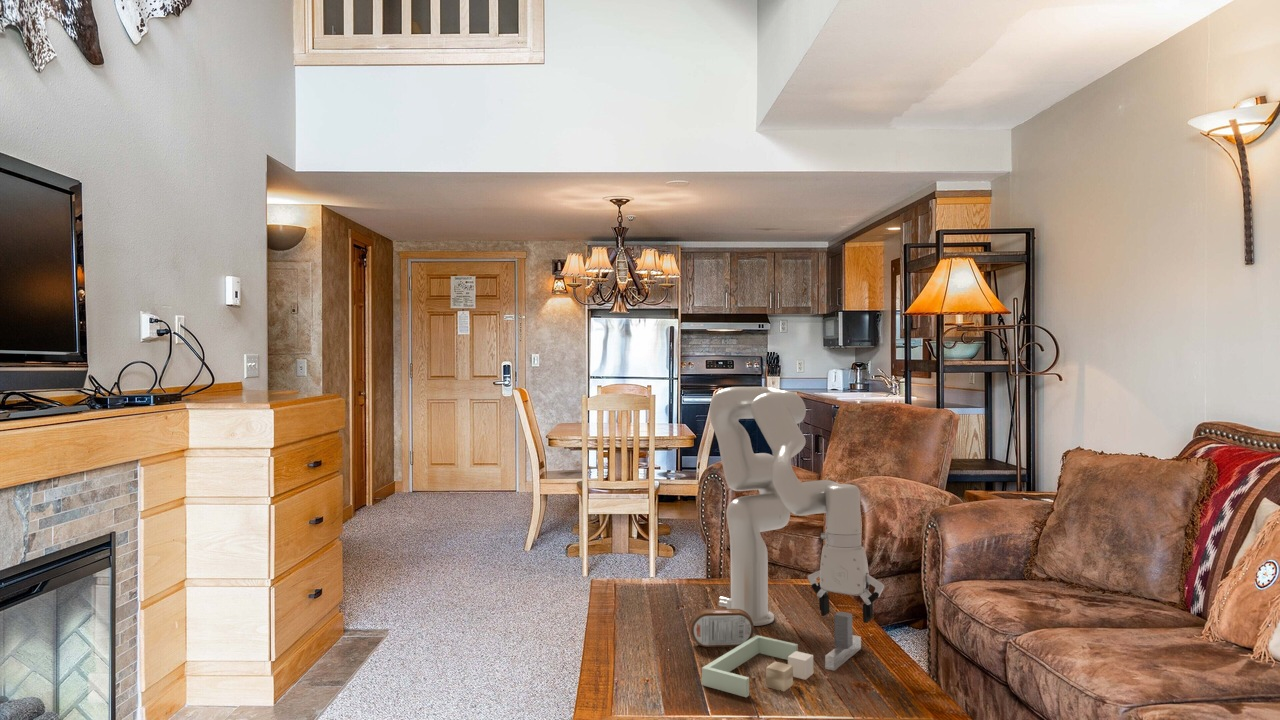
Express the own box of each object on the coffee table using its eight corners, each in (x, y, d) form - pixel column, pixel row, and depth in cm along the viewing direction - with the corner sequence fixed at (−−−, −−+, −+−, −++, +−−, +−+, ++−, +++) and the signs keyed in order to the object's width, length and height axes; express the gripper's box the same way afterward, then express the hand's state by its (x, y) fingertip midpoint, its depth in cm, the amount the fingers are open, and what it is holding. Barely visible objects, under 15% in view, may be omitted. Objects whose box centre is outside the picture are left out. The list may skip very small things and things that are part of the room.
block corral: (701, 685, 158) (701, 667, 158) (756, 650, 177) (756, 635, 177) (746, 697, 152) (746, 679, 152) (797, 660, 171) (797, 644, 171)
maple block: (766, 687, 157) (766, 667, 157) (775, 680, 160) (775, 661, 160) (784, 692, 154) (784, 671, 154) (792, 685, 158) (792, 665, 158)
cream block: (787, 675, 163) (787, 656, 163) (795, 669, 166) (795, 651, 166) (805, 680, 160) (805, 660, 160) (813, 673, 163) (813, 655, 163)
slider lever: (823, 669, 166) (822, 622, 167) (850, 647, 179) (850, 604, 179) (836, 672, 165) (836, 625, 165) (863, 650, 178) (862, 606, 178)
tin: (752, 642, 182) (752, 607, 182) (755, 647, 179) (755, 611, 179) (689, 644, 181) (688, 608, 181) (690, 649, 178) (690, 612, 178)
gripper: (800, 539, 174) (802, 615, 174) (876, 547, 164) (878, 628, 163) (814, 533, 180) (816, 607, 180) (887, 541, 170) (890, 619, 169)
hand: (845, 617), depth 171 cm, fingers open, 9 cm apart
